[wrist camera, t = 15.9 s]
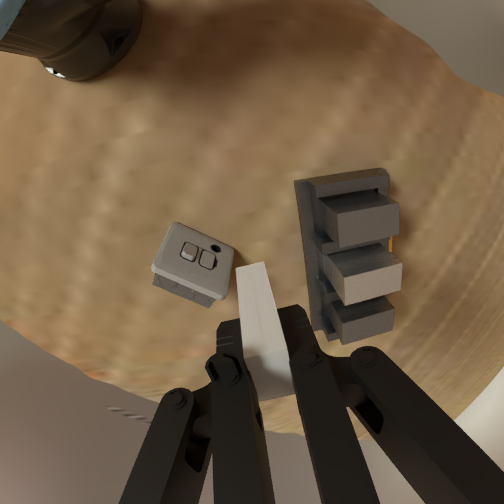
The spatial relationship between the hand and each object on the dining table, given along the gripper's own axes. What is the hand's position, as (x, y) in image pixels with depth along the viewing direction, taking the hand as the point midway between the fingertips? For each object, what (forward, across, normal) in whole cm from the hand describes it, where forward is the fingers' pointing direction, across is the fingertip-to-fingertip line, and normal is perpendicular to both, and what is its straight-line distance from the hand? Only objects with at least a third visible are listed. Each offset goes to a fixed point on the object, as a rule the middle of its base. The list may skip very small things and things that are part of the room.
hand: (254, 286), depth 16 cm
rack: (+23, +14, -13) cm, 30 cm away
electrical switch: (+24, -7, -7) cm, 26 cm away
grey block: (+23, +14, -13) cm, 29 cm away
